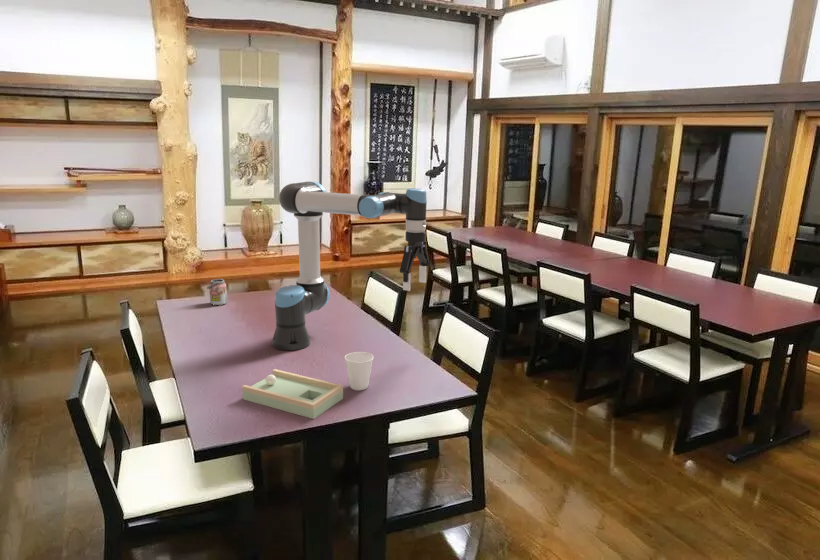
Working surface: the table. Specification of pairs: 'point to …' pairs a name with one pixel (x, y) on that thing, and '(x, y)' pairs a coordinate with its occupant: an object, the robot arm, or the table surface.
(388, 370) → the table surface
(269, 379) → the ball
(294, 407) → the green tray with hole
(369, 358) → the cup
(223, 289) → the beverage can
